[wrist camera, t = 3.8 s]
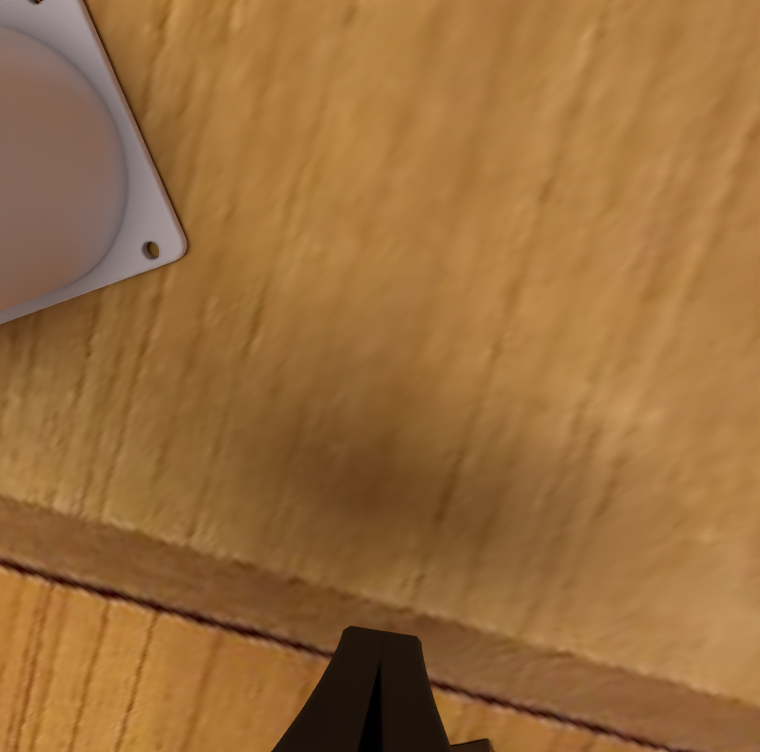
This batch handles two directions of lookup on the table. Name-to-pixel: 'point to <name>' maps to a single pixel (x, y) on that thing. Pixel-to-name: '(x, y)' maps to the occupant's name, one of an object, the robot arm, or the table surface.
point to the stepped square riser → (474, 747)
